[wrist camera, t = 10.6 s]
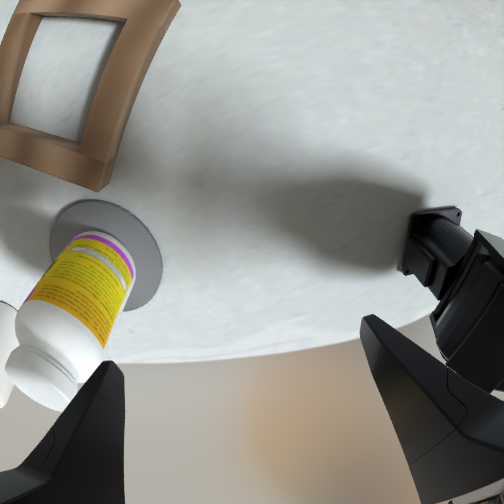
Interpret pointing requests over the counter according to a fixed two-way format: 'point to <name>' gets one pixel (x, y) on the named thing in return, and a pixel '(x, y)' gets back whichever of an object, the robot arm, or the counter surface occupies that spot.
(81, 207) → the coaster
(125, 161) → the counter surface
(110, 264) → the supplement bottle
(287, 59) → the counter surface
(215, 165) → the counter surface
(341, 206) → the counter surface
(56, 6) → the pocket block
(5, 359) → the pill bottle
